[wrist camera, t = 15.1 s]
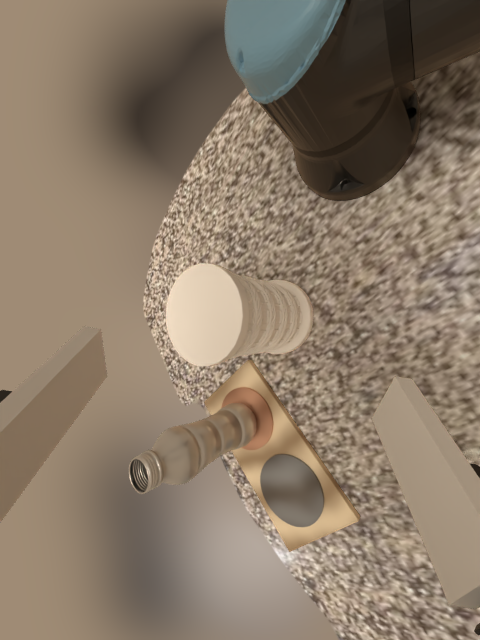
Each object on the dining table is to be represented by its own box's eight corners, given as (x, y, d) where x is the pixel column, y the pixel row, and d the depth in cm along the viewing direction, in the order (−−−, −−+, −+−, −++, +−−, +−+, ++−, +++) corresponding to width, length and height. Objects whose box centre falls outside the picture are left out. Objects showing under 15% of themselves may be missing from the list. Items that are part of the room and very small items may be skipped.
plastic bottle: (230, 437, 47) (121, 499, 31) (228, 397, 48) (120, 437, 31) (262, 445, 44) (159, 520, 27) (260, 401, 44) (157, 450, 27)
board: (207, 401, 52) (201, 403, 51) (251, 359, 47) (246, 360, 46) (292, 547, 42) (287, 554, 41) (360, 516, 37) (357, 523, 36)
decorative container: (237, 327, 49) (151, 330, 34) (268, 267, 45) (188, 241, 30) (288, 368, 43) (212, 393, 28) (328, 303, 39) (266, 293, 25)
